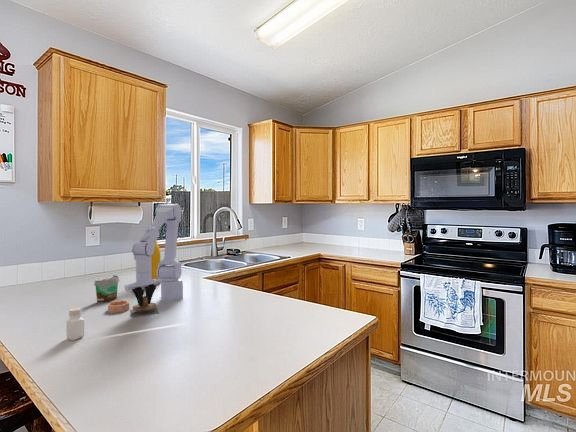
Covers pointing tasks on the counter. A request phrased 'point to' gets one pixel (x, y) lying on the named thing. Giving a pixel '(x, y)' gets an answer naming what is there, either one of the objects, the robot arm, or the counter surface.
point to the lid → (144, 305)
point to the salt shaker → (75, 324)
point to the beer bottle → (155, 261)
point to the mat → (143, 312)
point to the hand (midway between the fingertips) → (144, 304)
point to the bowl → (118, 306)
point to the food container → (107, 289)
